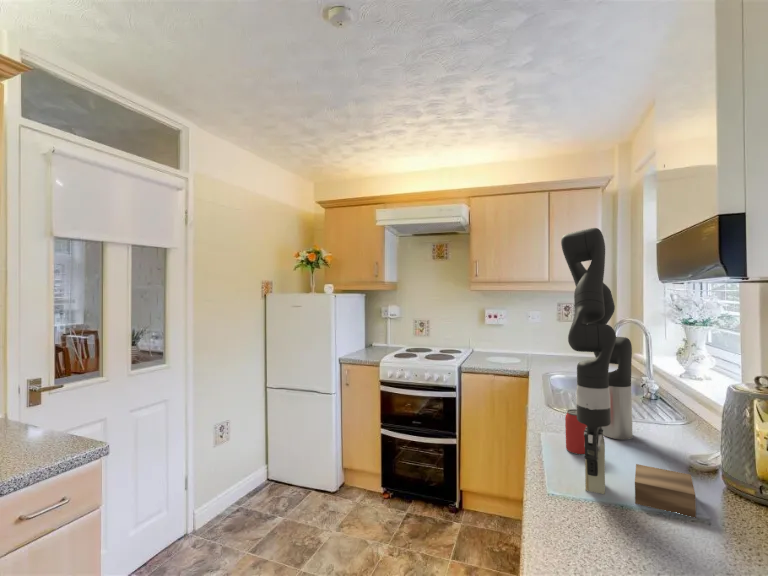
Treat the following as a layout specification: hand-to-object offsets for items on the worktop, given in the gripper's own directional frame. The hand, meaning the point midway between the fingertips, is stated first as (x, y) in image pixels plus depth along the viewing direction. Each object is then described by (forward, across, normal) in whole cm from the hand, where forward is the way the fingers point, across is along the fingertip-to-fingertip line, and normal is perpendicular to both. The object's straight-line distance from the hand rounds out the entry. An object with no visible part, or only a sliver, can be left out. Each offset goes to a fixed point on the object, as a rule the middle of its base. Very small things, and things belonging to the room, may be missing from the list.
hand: (594, 468), depth 98 cm
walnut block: (+5, -2, +14) cm, 15 cm away
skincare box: (+5, 0, 0) cm, 5 cm away
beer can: (+5, -22, -7) cm, 24 cm away
